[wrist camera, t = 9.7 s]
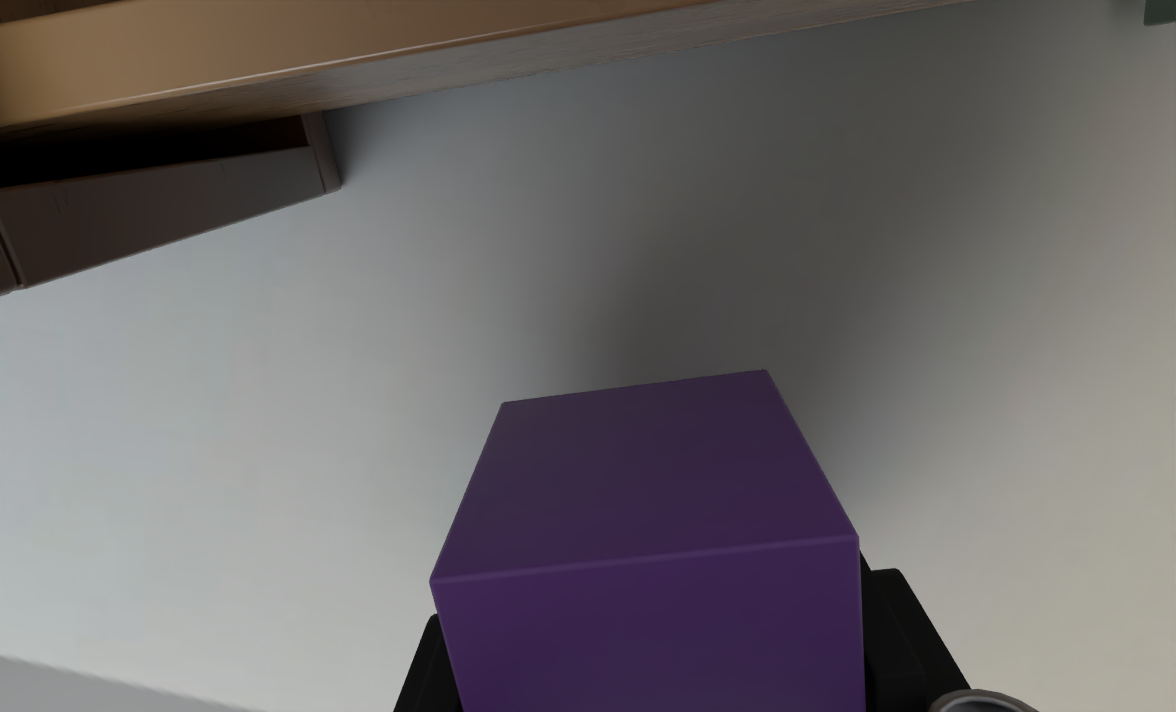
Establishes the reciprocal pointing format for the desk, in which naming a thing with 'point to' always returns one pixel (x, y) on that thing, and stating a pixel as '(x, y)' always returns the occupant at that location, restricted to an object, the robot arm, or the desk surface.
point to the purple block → (652, 558)
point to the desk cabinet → (150, 192)
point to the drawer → (337, 53)
